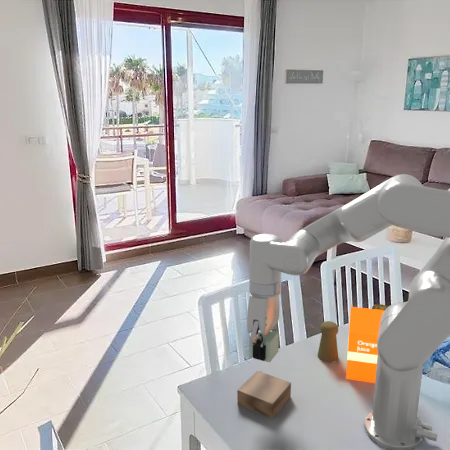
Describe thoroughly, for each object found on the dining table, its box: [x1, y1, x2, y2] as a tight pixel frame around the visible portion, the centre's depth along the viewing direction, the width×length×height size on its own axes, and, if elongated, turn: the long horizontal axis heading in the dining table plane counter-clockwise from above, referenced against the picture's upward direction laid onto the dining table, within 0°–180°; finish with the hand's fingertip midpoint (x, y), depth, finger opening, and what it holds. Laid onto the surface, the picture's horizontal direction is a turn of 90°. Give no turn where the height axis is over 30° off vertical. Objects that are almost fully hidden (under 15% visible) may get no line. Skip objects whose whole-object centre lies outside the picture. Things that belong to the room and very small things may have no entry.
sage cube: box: [248, 330, 280, 363], centre depth 114 cm, size 6×6×6 cm
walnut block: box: [236, 370, 292, 419], centre depth 118 cm, size 10×10×4 cm
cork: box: [317, 320, 339, 363], centre depth 136 cm, size 6×6×11 cm
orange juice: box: [345, 306, 384, 384], centre depth 126 cm, size 8×9×20 cm
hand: (264, 352), depth 114 cm, fingers closed on sage cube, 5 cm apart
